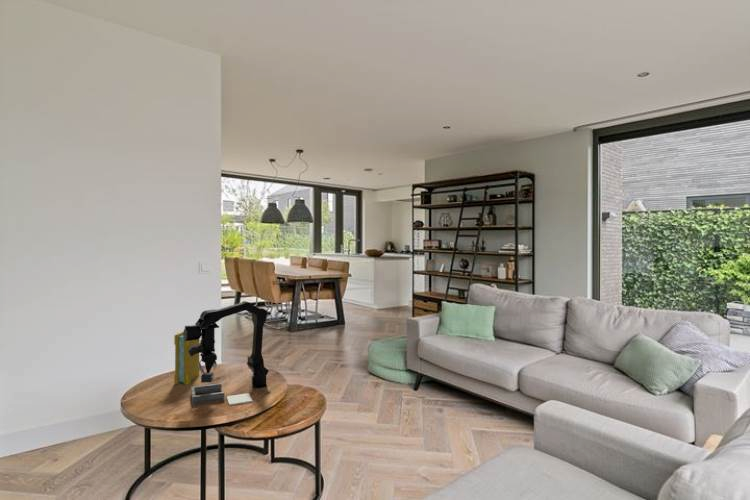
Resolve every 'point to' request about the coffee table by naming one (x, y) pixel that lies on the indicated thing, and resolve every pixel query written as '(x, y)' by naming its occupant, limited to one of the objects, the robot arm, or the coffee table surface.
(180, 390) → the coffee table surface
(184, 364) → the book
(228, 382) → the coffee table surface
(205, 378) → the watch
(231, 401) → the pad
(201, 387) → the grey u-shaped piece
